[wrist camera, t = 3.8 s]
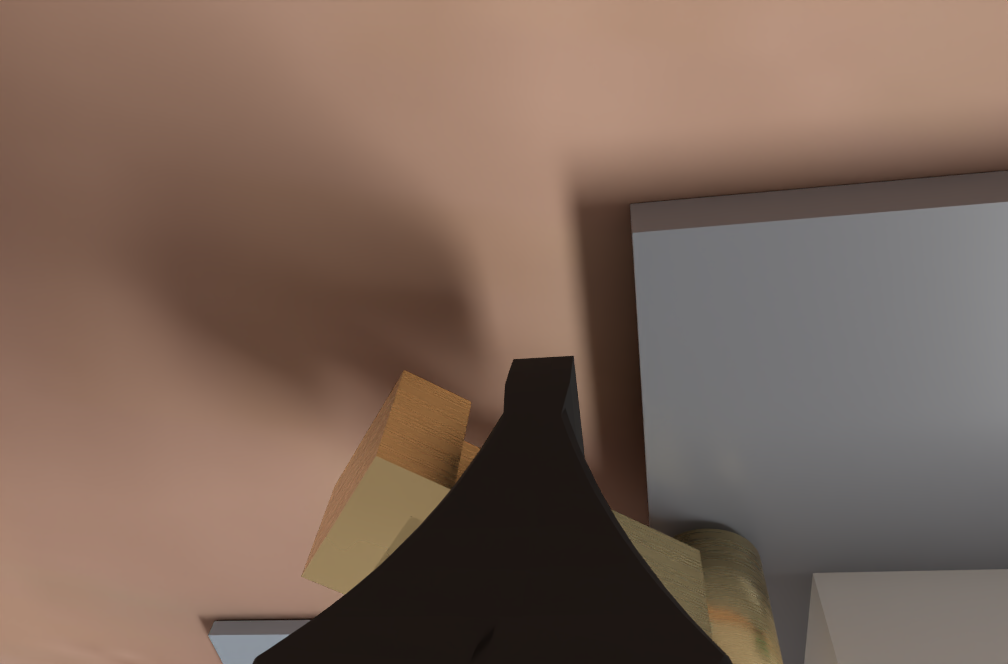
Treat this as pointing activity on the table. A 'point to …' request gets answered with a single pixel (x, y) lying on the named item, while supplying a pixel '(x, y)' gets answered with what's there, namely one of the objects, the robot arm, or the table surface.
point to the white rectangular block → (908, 617)
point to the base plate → (829, 377)
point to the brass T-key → (438, 466)
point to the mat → (249, 638)
